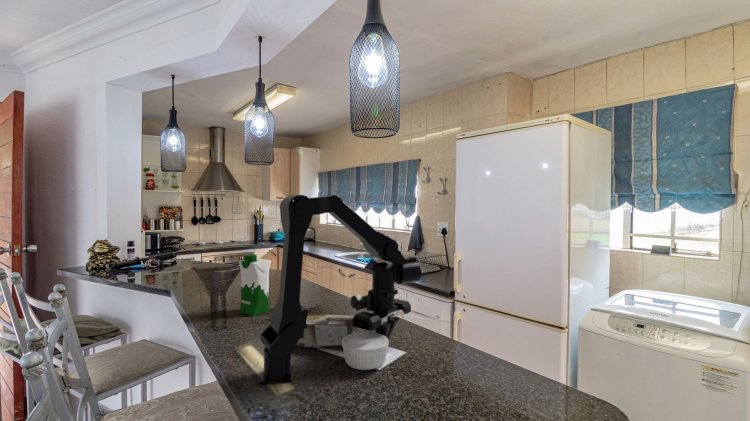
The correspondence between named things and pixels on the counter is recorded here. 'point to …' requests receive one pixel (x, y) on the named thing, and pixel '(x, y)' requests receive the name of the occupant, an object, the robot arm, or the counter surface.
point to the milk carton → (254, 285)
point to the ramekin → (365, 350)
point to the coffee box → (326, 331)
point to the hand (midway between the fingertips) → (383, 346)
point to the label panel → (390, 357)
